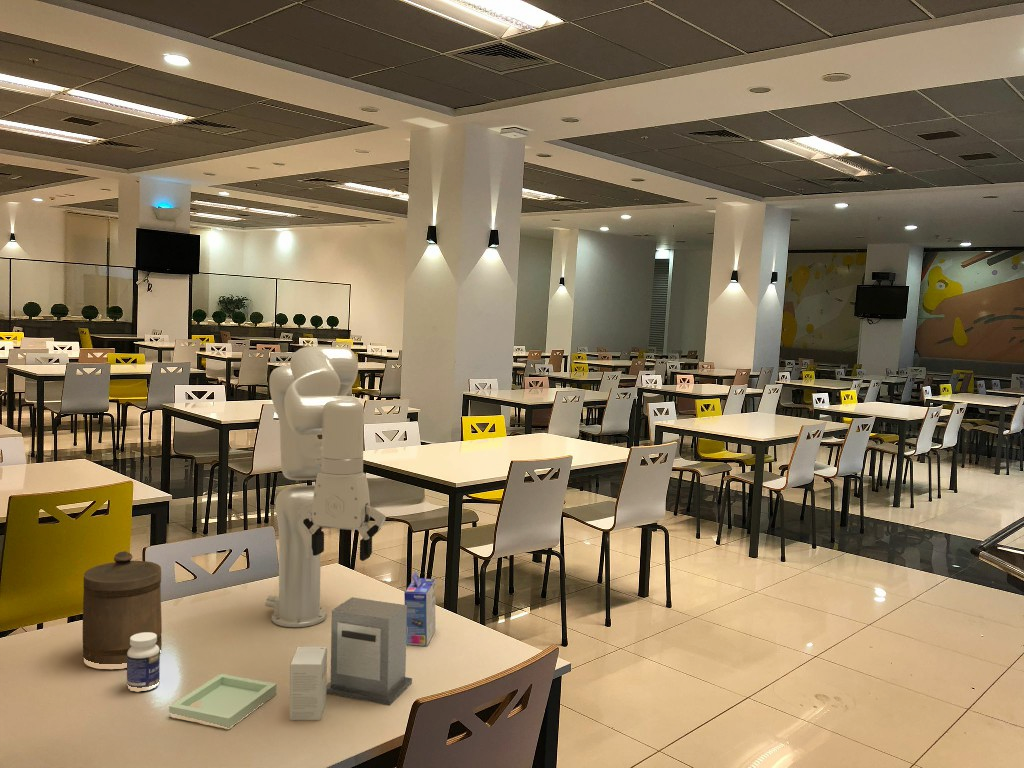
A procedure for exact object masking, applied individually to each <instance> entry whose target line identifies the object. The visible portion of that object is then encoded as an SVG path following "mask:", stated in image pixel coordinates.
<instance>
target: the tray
mask: <svg viewBox="0 0 1024 768" xmlns="http://www.w3.org/2000/svg"><path fill="white" fill-rule="evenodd" d="M273 696H274V697H275V696H277V683H274V682H269V681H262V680H257V679H252V678H245V677H242V676H241V677H240V676H235V675H230V674H225V673H220V674H218V675H216V676H215V677H213V678H212V679H210V680H209V681H207V682H205V683H204V684H202V685H201V686H199V687H198V688H196V689H194V690H193V691H191V692H190V693H188V694H186V695H184V696H183V697H181V698H180V699H178V700H177V701H175V702H173V704H171V705H169V707H168V708H169V710H168V711H169V712H170V713H172V714H177V715H181V716H185V717H188V718H194V719H197V720H202V721H205V722H209V723H213V724H217V725H220V726H224V727H227V728H230V727H231V726H232V725H234V724H235V723H237V722H238V721H240V720H241V719H242V718H243V717H245V716H246V715H247V714H249V713H250V712H252V711H253V710H254V709H256V708H257V707H258V706H259V705H261V704H262V703H264V702H266V701H267V700H268V699H270V698H271V699H273V698H274V697H273ZM272 697H273V698H272ZM271 699H270V700H271ZM198 700H199V702H200V700H201V702H202V704H201V705H200V704H199V705H200V706H201V707H200V708H195V707H190V705H191V704H192V703H194V702H196V701H198ZM201 702H200V703H201ZM267 702H268V701H267ZM267 702H266V703H267ZM202 706H203V708H202ZM198 707H199V706H198ZM201 708H202V709H201ZM240 722H241V721H240Z"/></svg>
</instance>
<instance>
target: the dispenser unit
mask: <svg viewBox="0 0 1024 768" xmlns="http://www.w3.org/2000/svg"><path fill="white" fill-rule="evenodd" d="M406 627H407V605H405V604H399V603H396V602H395V603H394V602H389V601H388V602H385V601H379V600H373V599H367V598H359V597H354V596H352V597H350V598H349V599H347V600H346V601H344V602H342V603H341V604H339V605H338V606H336V607H335V608H333V609H331V631H330V632H331V633H330V634H331V636H330V647H331V648H330V682H328V684H327V686H326V695H331V696H337V697H344V698H348V699H354V700H360V701H364V702H370V703H376V704H382V705H386V706H391V705H392V704H393V703H394V701H396V699H398V698H399V697H400V696H401V695H402V694H403V693H404V692H405V691H406V690H407V689H408V688H409V687H408V686H409V685H410V686H411V684H413V678H412V677H408V676H406V664H407V663H406V662H407V645H406ZM407 687H408V688H407Z"/></svg>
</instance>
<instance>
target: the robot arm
mask: <svg viewBox="0 0 1024 768" xmlns="http://www.w3.org/2000/svg"><path fill="white" fill-rule="evenodd" d="M289 361H290V362H289V364H288V365H283V366H278V367H276V368H274V369H273V370H272V371H271V373H270V375H269V382H268V383H269V393H270V397H271V398H270V399H271V401H272V404H273V407H274V409H275V412H276V415H277V417H278V422H279V438H280V439H279V442H280V443H279V445H280V467H281V472H282V474H283V477H284V478H285V479H288V480H290V481H291V480H292V481H310V480H311V481H314V480H315V484H312V485H298V486H297V485H295V486H290V487H287V488H284V489H282V490H281V491H279V493H278V494H277V496H276V498H275V506H274V507H275V512H276V513H275V514H276V519H277V526H278V527H277V528H278V554H279V555H278V558H279V559H278V596H276V595H268V596H267V598H266V601H265V604H264V605H265V607H268V608H273V609H274V611H273V612H272V613H271V621H272V622H273V623H274V624H275V625H276V626H280V627H286V628H305V627H311V626H314V625H318V624H320V623H321V622H323V621H324V620H326V619H327V610H326V609H325V608H324V607H323V606H321V567H322V566H321V565H322V564H321V558H322V557H321V554H322V553H324V551H325V532H324V531H323V528H327V529H328V528H329V529H336V530H337V529H339V530H346V531H347V530H350V531H355V530H357V531H358V533H359V534H360V536H361V537H362V539H360V540H359V560H360V561H361V562H364V561H365V560H368V559H369V558H371V555H372V553H373V537H375V535H376V534H378V532H380V530H382V526H383V525H384V524H385V521H386V519H387V517H386V515H385V514H383V513H382V512H380V511H379V510H377V509H376V508H374V507H373V506H371V502H370V501H371V500H370V489H369V481H368V479H367V474H366V473H364V421H365V420H364V419H365V418H364V417H365V412H364V411H365V410H364V406H363V404H362V403H361V401H360V400H359V399H358V398H357V397H355V396H352V395H348V393H349V392H350V390H351V389H352V387H353V385H354V384H355V382H356V379H357V378H358V375H359V374H358V373H359V365H358V358H357V356H356V355H355V353H354V351H353V350H351V348H348V347H345V346H317V345H316V346H305V347H301V348H299V349H298V350H296V351H295V352H294V353H293V354H292V356H291V359H290V360H289ZM319 435H322V437H321V438H320V439H319V437H318V436H319ZM371 518H372V519H374V524H373V525H372V526H371V524H370V519H371Z"/></svg>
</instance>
